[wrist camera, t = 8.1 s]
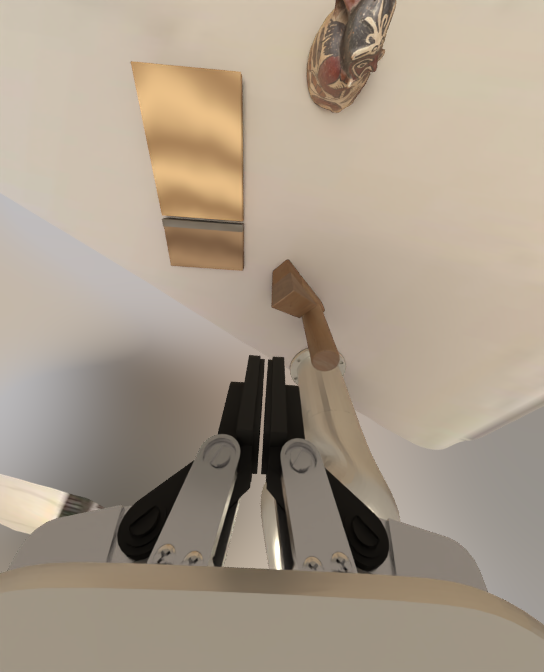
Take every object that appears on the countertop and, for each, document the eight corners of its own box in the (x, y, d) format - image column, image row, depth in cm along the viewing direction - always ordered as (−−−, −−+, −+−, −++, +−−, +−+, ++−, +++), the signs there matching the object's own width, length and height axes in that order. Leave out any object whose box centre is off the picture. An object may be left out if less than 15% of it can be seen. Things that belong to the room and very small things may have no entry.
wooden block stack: (287, 258, 38) (296, 303, 23) (322, 302, 43) (347, 363, 28) (271, 271, 40) (269, 322, 25) (306, 313, 44) (322, 377, 29)
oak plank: (243, 219, 35) (242, 221, 34) (165, 213, 35) (162, 215, 33) (242, 76, 26) (240, 71, 25) (137, 66, 26) (130, 61, 24)
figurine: (319, 126, 29) (342, 94, 19) (296, 53, 26) (309, -33, 16) (374, 88, 27) (432, 30, 17) (357, 3, 24) (417, -131, 14)
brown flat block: (243, 267, 39) (242, 270, 38) (174, 262, 39) (170, 265, 38) (243, 223, 35) (242, 225, 34) (166, 217, 35) (162, 218, 34)
